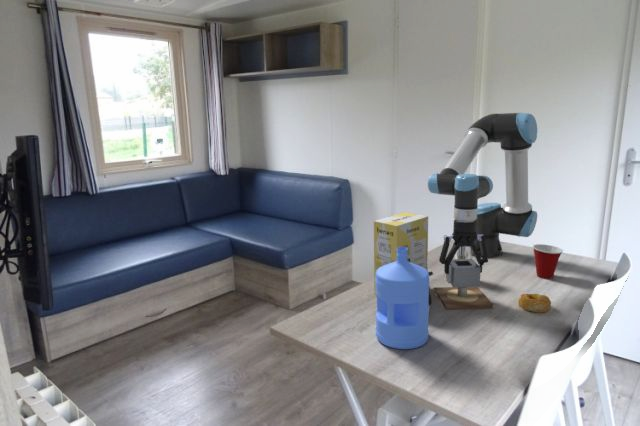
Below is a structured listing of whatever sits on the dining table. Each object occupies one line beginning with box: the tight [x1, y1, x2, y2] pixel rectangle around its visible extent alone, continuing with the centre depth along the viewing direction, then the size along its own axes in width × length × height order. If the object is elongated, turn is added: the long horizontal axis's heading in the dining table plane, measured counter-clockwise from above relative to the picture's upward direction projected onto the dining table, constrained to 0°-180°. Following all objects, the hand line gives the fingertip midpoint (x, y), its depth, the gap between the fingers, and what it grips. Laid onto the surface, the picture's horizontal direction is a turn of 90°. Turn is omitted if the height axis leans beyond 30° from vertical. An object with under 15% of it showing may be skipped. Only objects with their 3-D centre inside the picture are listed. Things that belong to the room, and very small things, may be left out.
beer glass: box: [453, 246, 474, 259], centre depth 175 cm, size 7×7×15 cm
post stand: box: [433, 286, 494, 311], centre depth 157 cm, size 16×16×10 cm
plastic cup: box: [532, 243, 564, 280], centre depth 175 cm, size 11×11×12 cm
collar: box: [445, 258, 481, 288], centre depth 156 cm, size 9×9×7 cm
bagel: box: [517, 293, 552, 314], centre depth 150 cm, size 10×11×5 cm
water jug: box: [375, 247, 430, 350], centre depth 131 cm, size 16×16×28 cm
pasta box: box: [373, 211, 429, 295], centre depth 165 cm, size 18×10×28 cm, turn 131°
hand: (462, 281), depth 157 cm, fingers closed on collar, 9 cm apart
